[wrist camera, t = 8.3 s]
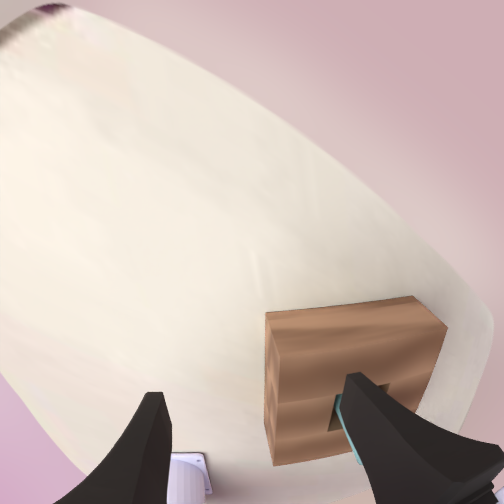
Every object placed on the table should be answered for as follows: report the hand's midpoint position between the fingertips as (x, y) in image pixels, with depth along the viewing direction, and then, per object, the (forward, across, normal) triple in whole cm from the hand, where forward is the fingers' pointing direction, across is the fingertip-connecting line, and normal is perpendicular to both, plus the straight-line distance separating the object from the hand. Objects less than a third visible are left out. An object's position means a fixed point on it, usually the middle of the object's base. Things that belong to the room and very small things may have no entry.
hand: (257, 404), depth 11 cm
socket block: (+10, -8, +8) cm, 15 cm away
